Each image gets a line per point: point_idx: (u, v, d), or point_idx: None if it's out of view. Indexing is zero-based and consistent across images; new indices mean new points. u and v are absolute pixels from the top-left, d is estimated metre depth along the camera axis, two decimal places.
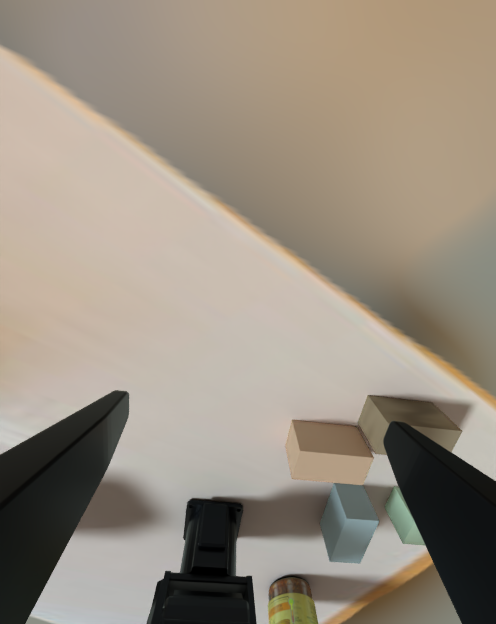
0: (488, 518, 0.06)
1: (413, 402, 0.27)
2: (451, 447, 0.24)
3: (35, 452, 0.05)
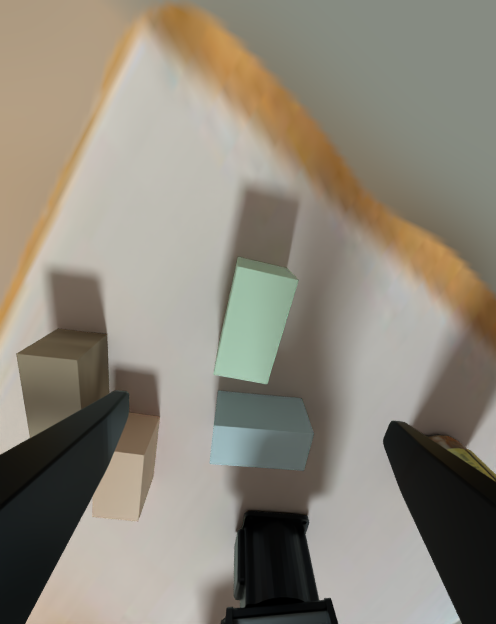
0: (488, 518, 0.06)
1: None
2: (50, 360, 0.16)
3: (35, 452, 0.05)
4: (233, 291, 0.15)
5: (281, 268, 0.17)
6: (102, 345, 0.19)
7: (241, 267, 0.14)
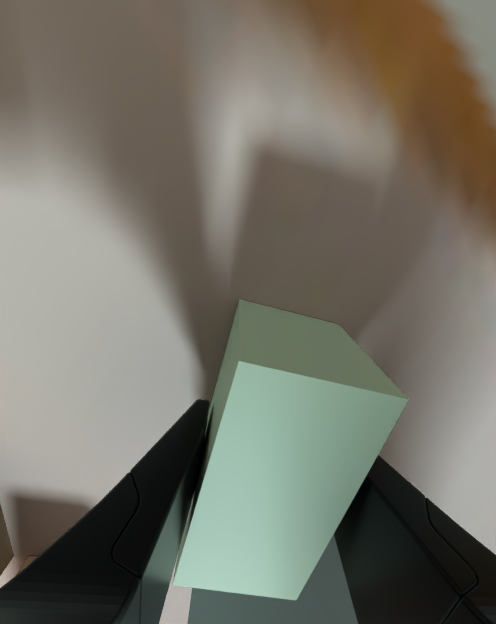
0: (377, 509, 0.06)
1: None
2: None
3: (164, 463, 0.06)
4: (225, 423, 0.05)
5: (333, 332, 0.08)
6: None
7: (250, 362, 0.05)
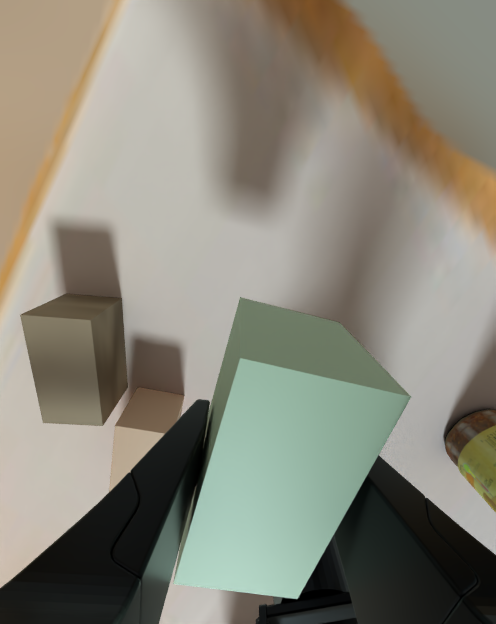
0: (377, 509, 0.06)
1: None
2: (59, 321, 0.14)
3: (164, 463, 0.06)
4: (226, 420, 0.05)
5: (334, 330, 0.08)
6: (117, 310, 0.17)
7: (252, 359, 0.05)
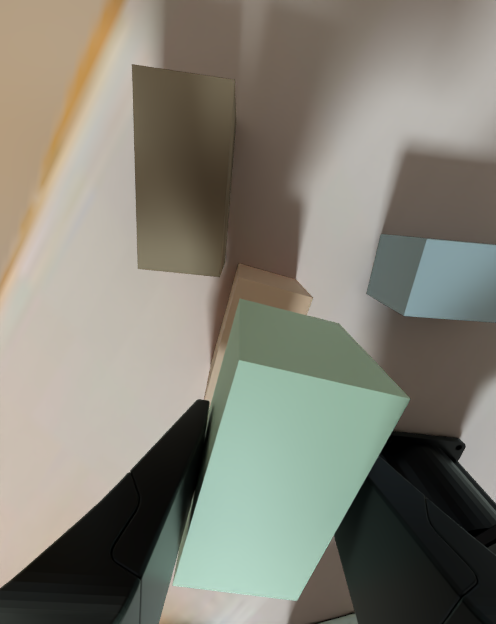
0: (377, 509, 0.06)
1: None
2: (188, 80, 0.09)
3: (164, 463, 0.06)
4: (225, 422, 0.05)
5: (334, 331, 0.08)
6: (234, 127, 0.12)
7: (251, 361, 0.05)
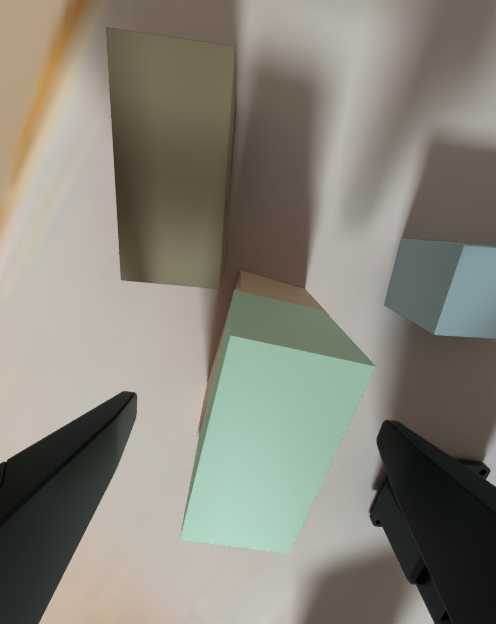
0: (477, 517, 0.06)
1: None
2: (177, 47, 0.07)
3: (48, 453, 0.05)
4: (220, 389, 0.06)
5: (318, 316, 0.09)
6: None
7: (240, 336, 0.06)
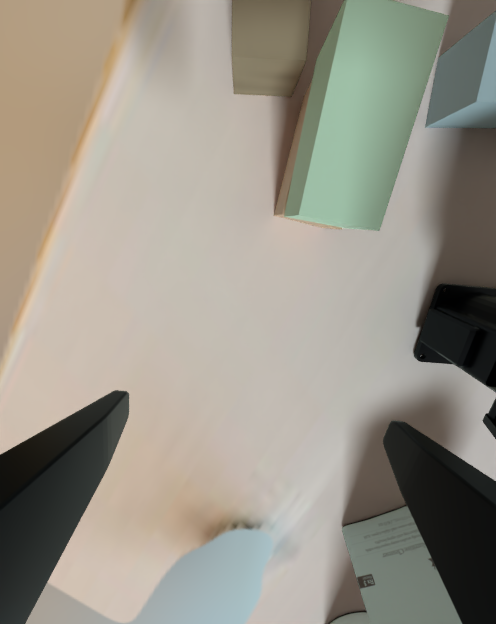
0: (488, 518, 0.06)
1: None
2: None
3: (35, 452, 0.05)
4: (339, 45, 0.09)
5: None
6: None
7: None
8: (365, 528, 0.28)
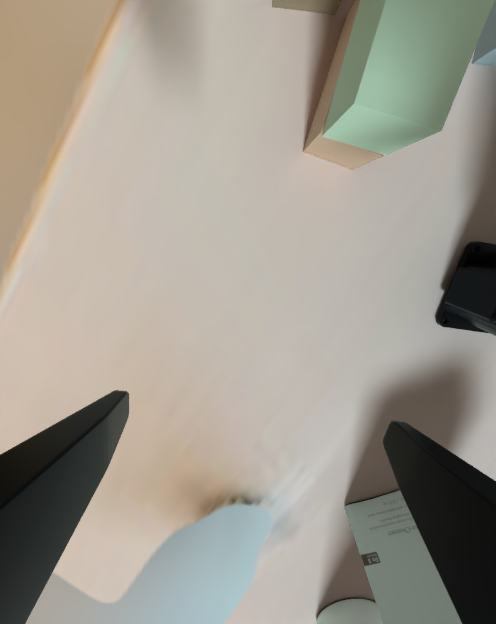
0: (488, 518, 0.06)
1: None
2: None
3: (35, 452, 0.05)
4: None
5: None
6: None
7: None
8: (369, 507, 0.27)
